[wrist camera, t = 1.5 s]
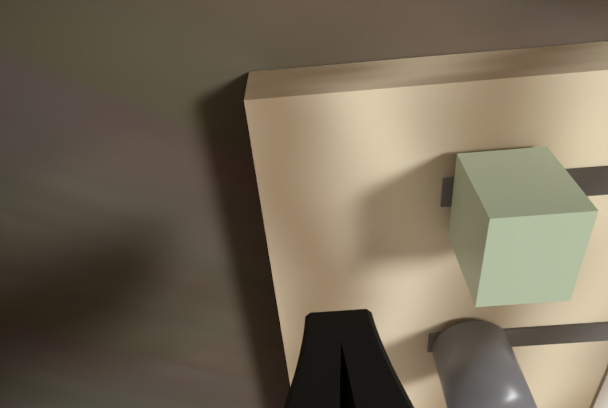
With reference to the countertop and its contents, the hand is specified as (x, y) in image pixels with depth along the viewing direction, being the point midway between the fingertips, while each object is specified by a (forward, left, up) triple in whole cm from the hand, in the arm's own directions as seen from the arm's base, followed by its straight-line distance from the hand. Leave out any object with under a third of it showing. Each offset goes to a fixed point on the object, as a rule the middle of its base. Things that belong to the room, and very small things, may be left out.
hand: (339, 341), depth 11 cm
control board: (+5, -7, -7) cm, 11 cm away
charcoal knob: (+5, -7, -5) cm, 10 cm away
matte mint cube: (+5, 0, -5) cm, 7 cm away
